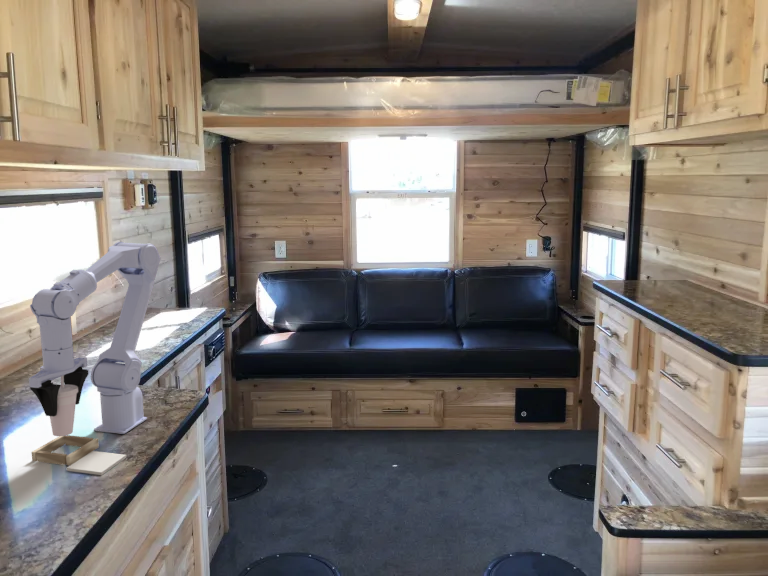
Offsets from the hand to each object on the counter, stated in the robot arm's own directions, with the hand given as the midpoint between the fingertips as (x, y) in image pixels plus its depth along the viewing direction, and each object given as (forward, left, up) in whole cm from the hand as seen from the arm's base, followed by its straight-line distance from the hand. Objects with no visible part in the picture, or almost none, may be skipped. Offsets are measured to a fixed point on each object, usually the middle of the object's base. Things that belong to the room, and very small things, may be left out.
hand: (62, 409), depth 130 cm
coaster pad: (+3, +9, -10) cm, 14 cm away
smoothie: (+1, 0, -5) cm, 5 cm away
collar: (0, 0, -10) cm, 10 cm away
